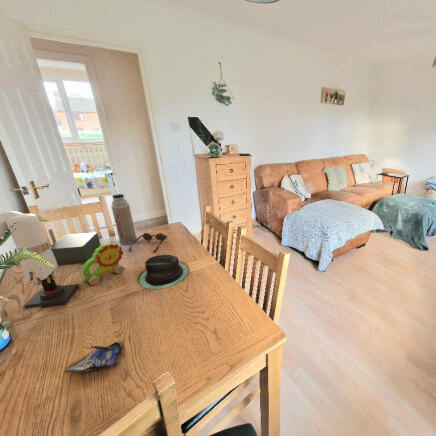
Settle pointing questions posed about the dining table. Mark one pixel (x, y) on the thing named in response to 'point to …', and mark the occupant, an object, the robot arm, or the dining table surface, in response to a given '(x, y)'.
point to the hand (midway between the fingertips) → (51, 289)
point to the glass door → (52, 236)
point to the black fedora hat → (162, 272)
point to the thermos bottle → (123, 220)
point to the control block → (53, 297)
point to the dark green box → (75, 248)
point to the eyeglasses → (149, 237)
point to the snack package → (98, 358)
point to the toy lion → (103, 262)
